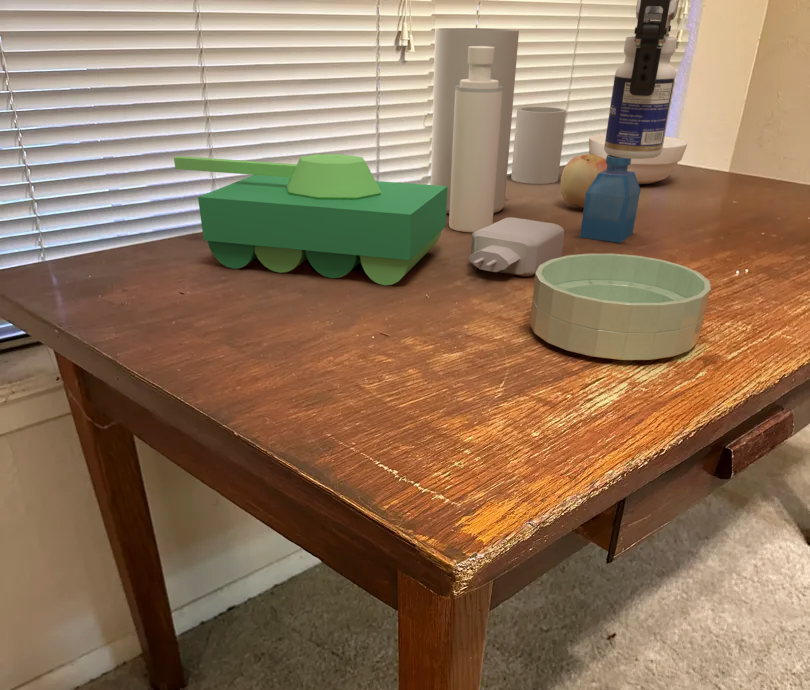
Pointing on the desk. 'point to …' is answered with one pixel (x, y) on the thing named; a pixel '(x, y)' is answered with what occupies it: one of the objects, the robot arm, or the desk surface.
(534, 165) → the cup
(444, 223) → the toy tank
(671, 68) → the pill bottle
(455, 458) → the desk surface
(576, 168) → the apple
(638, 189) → the perfume bottle
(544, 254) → the charger
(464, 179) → the spray bottle
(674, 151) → the bowl
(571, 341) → the ceramic bowl
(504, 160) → the cylinder vase
